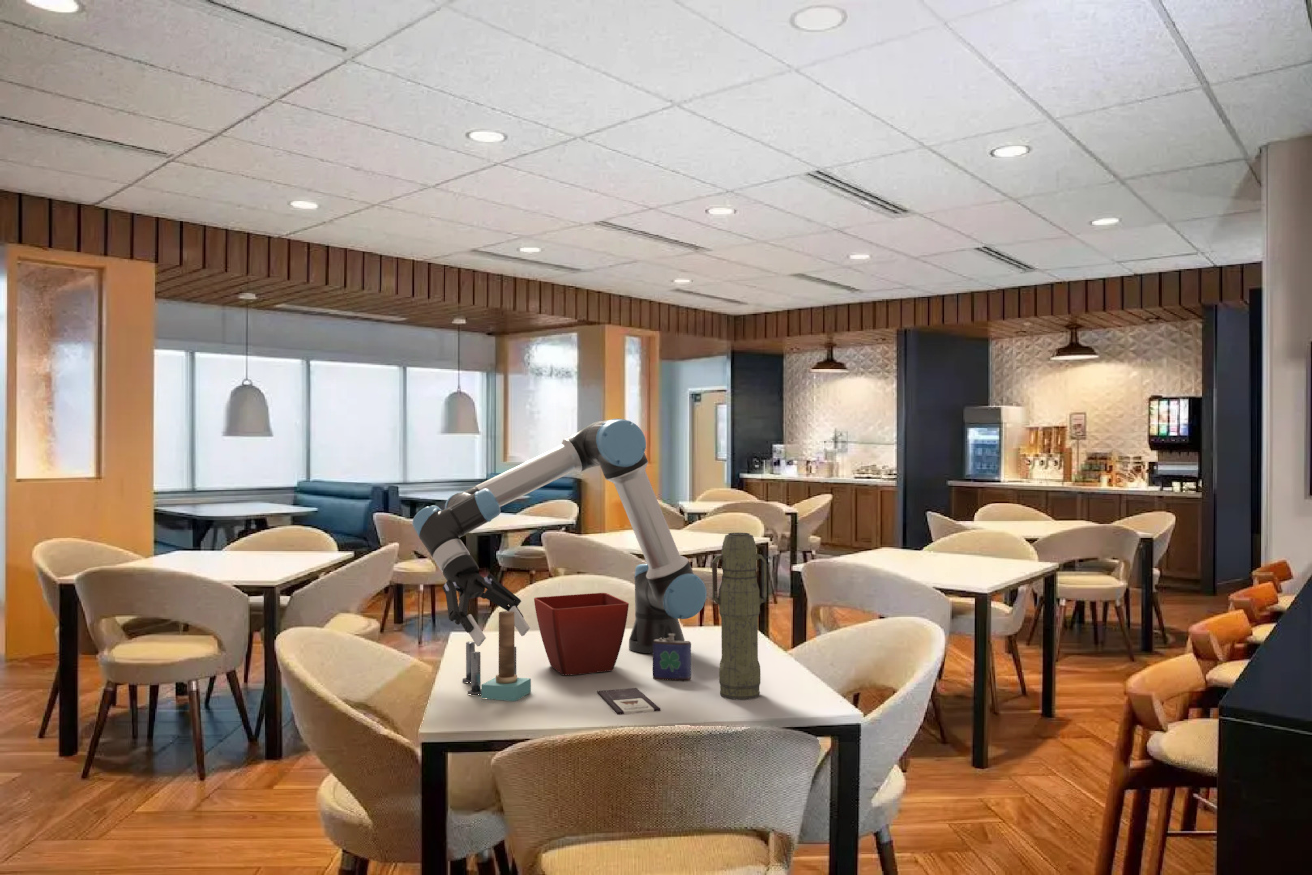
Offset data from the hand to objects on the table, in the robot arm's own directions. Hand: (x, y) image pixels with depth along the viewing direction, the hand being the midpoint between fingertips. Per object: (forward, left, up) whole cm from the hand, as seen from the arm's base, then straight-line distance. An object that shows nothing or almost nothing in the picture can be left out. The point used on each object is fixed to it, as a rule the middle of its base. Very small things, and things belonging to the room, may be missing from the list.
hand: (504, 637), depth 207 cm
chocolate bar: (-28, -2, -13) cm, 31 cm away
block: (0, 0, -13) cm, 13 cm away
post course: (+7, -5, -13) cm, 15 cm away
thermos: (-49, -13, -13) cm, 53 cm away
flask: (-31, -23, -13) cm, 41 cm away
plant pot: (-7, -28, -13) cm, 32 cm away
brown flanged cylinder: (0, 0, -10) cm, 10 cm away
